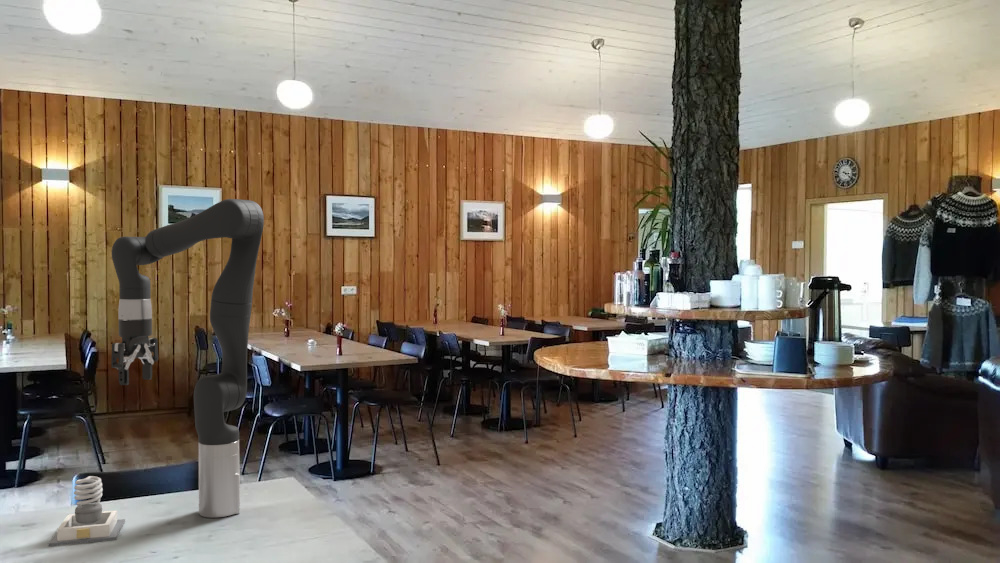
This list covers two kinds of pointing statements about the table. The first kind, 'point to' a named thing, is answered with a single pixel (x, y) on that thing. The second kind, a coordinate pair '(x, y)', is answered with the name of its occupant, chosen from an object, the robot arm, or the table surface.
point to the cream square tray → (87, 527)
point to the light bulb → (86, 509)
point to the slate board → (112, 536)
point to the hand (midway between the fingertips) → (135, 382)
